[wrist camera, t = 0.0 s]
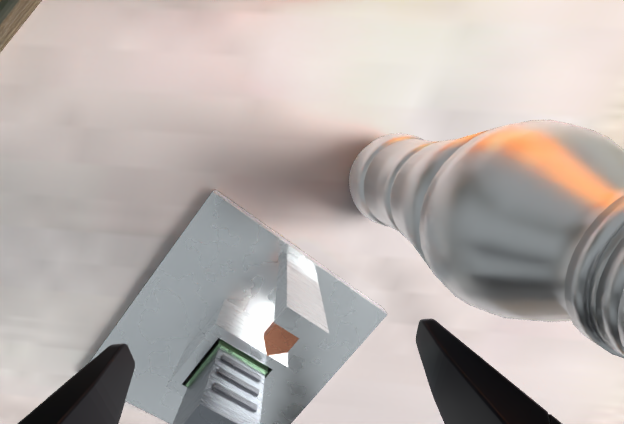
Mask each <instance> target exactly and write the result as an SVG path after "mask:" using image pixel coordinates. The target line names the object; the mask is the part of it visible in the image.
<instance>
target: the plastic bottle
mask: <svg viewBox="0 0 624 424" xmlns="http://www.w3.org/2000/svg"><path fill="white" fill-rule="evenodd" d="M349 187H350V193H351V196H352V199H353V201H354V204H355V205H356V207H357V208H358V210H359V211H360V212H361V213H362V214H363V215H364V216H365V217H367V218H368V219H370V220H371V221H374V222H376V223H379V224H382V225H384V226H389V227H391V228H393V229H395V230H397V231H399V232H400V233H401V234H402V235H403V236H405V237H406V238H407V239H408V240H409V241H410V242H411V243H412V244H413V246H414V247H415V248H416V250H417V251H418V253H419V254H420V255H421V257H422V258H423V259H424V261H425V262H426V263H427V265H428V266H429V268H430V269H431V270H432V272H433V273H434V275H435V276H436V277H437V278H438V279H439V280H440V281H441V282H442V283H443V284H444V285H445V286H446V287H447V288H448V289H449V290H450V291H451V292H452V293H453V294H454V295H455V296H456V297H457V298H459V299H460V300H462V301H464V302H465V303H467V304H469V305H471V306H473V307H476V308H479V309H481V310H484V311H486V312H489V313H492V314H495V315H498V316H501V317H504V318H510V319H519V320H532V321H545V322H556V321H572V322H573V324H574V326H575V327H576V328H577V329H578V330H579V331H580V332H581V333H582V334H583V335H584V336H586V337H587V338H589V339H590V340H592V341H593V342H595V343H596V344H598V345H599V346H601V347H602V348H604V349H605V350H607V351H608V352H610V353H611V354H613V355H616V356H619V357H622V358H624V150H623V149H622V148H621V147H620V146H618V145H617V144H616V143H615V142H614V141H612V140H611V139H610V138H608V137H606V136H604V135H602V134H600V133H598V132H596V131H594V130H591V129H587V128H583V127H580V126H576V125H572V124H568V123H563V122H558V121H553V120H532V121H526V122H521V123H515V124H509V125H505V126H501V127H497V128H493V129H491V130H487V131H484V132H480V133H477V134H473V135H470V136H466V137H463V138H460V139H454V140H446V141H438V142H433V141H426V140H423V139H421V138H419V137H416V136H412V135H408V134H402V133H396V134H389V135H385V136H382V137H380V138H378V139H376V140H374V141H373V142H371V143H370V144H369V145H367V146H366V147H365V148H364V149H363V150H362V151H361V152H360V153H359V154H358V156H357V157H356V159H355V160H354V162H353V165H352V167H351V171H350V175H349Z"/></svg>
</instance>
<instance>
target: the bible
mask: <svg viewBox="0 0 624 424" xmlns="http://www.w3.org/2000/svg"><path fill="white" fill-rule="evenodd" d="M41 1H42V0H0V52H1V51H2V50H3V49H4V47H5V46H6V45H7V44H8V42H9V41H10V40H11V39H12V37H13V36H14V35H15V34H16V32H17V31H18V30H19V29H20V27H21V26H22V25H23V23H24V22H25V21H26V20H27V18H28V17H29V16H30V15H31V13H32V12H33V11H34V10H35V8H36V7H37V6H38V5H39V3H40V2H41Z"/></svg>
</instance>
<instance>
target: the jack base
mask: <svg viewBox="0 0 624 424" xmlns="http://www.w3.org/2000/svg"><path fill="white" fill-rule="evenodd" d="M386 316H387V313H386V311H385V309H384V308H383V307H381V306H380V305H379V304H377V303H376V302H374V301H373V300H371V299H370V298H369V297H367V296H366V295H364V294H363V293H362V292H360V291H359V290H357V289H356V288H354V287H353V286H352V285H350V284H349V283H347V282H346V281H344V280H343V279H342V278H340V277H339V276H337V275H336V274H335V273H333V272H332V271H330V270H329V269H327V268H326V267H325V266H323V265H322V264H320V263H319V262H318V261H316V260H315V259H313V258H312V257H310V256H309V255H308V254H306V253H305V252H303V251H302V250H301V249H299V248H298V247H296V246H295V245H293V244H292V243H291V242H289V241H288V240H286V239H285V238H283V237H282V236H281V235H279V234H278V233H276V232H275V231H274V230H272V229H271V228H269V227H268V226H266V225H265V224H264V223H262V222H261V221H259V220H258V219H257V218H255V217H254V216H252V215H251V214H249V213H248V212H247V211H245V210H244V209H242V208H241V207H240V206H238V205H237V204H235V203H234V202H232V201H231V200H230V199H228V198H227V197H225V196H224V195H222V194H221V193H220V192H218V191H217V190H214V191H213V192H212V193H211V194H210V196H209V197H208V199H207V200H206V201H205V203H204V204H203V205H202V207H201V208H200V210H199V211H198V212H197V214H196V215H195V217H194V218H193V219H192V221H191V222H190V223H189V225H188V226H187V228H186V229H185V230H184V232H183V233H182V235H181V236H180V237H179V239H178V240H177V241H176V243H175V244H174V246H173V247H172V248H171V250H170V251H169V253H168V254H167V255H166V257H165V258H164V260H163V261H162V262H161V264H160V265H159V266H158V268H157V269H156V271H155V272H154V273H153V275H152V276H151V278H150V279H149V280H148V282H147V283H146V284H145V286H144V287H143V289H142V290H141V291H140V293H139V294H138V296H137V297H136V298H135V300H134V301H133V302H132V304H131V305H130V307H129V308H128V309H127V311H126V312H125V314H124V315H123V316H122V318H121V319H120V320H119V322H118V323H117V325H116V326H115V327H114V329H113V330H112V332H111V333H110V334H109V336H108V337H107V339H106V340H105V341H104V343H103V344H102V345H101V347H100V348H99V350H98V351H97V352H96V354H95V355H94V357H93V358H92V359H91V361H92V360H93V359H94V358H95V357H96V356H98V355H99V354H100V353H101V352H102V351H103V350H105V349H106V348H107V347H108V346H110V345H112V344H122V343H125V344H127V345H128V347H129V349H130V351H131V354H132V356H133V358H134V360H135V369H134V372H133V376H132V379H131V383H130V386H129V389H128V393H127V396H126V400H125V401H126V402H128V403H130V404H132V405H134V406H136V407H138V408H140V409H142V410H144V411H146V412H148V413H150V414H152V415H154V416H156V417H158V418H160V419H162V420H164V421H166V422H168V423H170V424H173V421H174V419H175V416H176V414H177V412H178V409H179V407H180V404H181V402H182V399H183V397H184V395H185V392H186V390H187V386H186V383H187V381H188V379H189V378H190V376H191V375H192V374H193V373H194V370H195V368H196V366H197V364H198V363H199V362H200V360H201V359H202V358H203V357H204V355H205V354H206V353H207V352H208V350H209V349H210V348H211V347H212V345H213V344H214V343H215V342H216V340H217V339H218V338H220V339H222V340H223V341H225V342H227V343H228V344H230V345H232V346H234V347H235V348H237V349H239V350H240V351H242V352H244V353H245V354H247V355H249V356H251V357H252V358H254V359H256V360H257V361H259V362H261V363H262V364H264V365H266V366H268V373H267V374H266V375H265V378H264V388H263V398H262V408H261V418H260V424H291V423H292V422H293V421H294V419H295V418H296V417H297V416H298V415H299V414H300V413H301V412H302V410H303V409H304V408H305V407H306V406H307V405H308V404H309V403H310V401H311V400H312V399H313V398H314V397H315V396H316V395H317V393H318V392H319V391H320V390H321V389H322V388H323V387H324V386H325V384H326V383H327V382H328V381H329V380H330V379H331V378H332V377H333V375H334V374H335V373H336V372H337V371H338V370H339V369H340V368H341V366H342V365H343V364H344V363H345V362H346V361H347V360H348V358H349V357H350V356H351V355H352V354H353V353H354V352H355V351H356V349H357V348H358V347H359V346H360V345H361V344H362V343H363V342H364V340H365V339H366V338H367V337H368V336H369V335H370V334H371V333H372V331H373V330H374V329H375V328H376V327H377V326H378V325H379V323H380V322H381V321H382V320H383V319H384V318H385V317H386ZM91 361H90V362H91Z"/></svg>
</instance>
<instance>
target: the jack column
mask: <svg viewBox="0 0 624 424" xmlns="http://www.w3.org/2000/svg"><path fill="white" fill-rule="evenodd" d="M267 373H268V366H266V365H264V364H262V363H261V362H259V361H257V360H256V359H254V358H252V357H251V356H249V355H247V354H245V353H244V352H242V351H240V350H239V349H237V348H235V347H234V346H232V345H230V344H228V343H227V342H225V341H223V340H222V339H220V338H218V339H217V340H216V342H215V343H214V344H213V345H212V347H211V348H210V349H209V350H208V352H207V353H206V354H205V355H204V357H203V358H202V359H201V360H200V362H199V363H198V364H197V366H196V368H195V370H194V373H193V374H192V375H191V376H190V378H189V379H188V381H187V383H186V386H187V390H186V392H185V395H184V397H183V399H182V402H181V404H180V407H179V409H178V412H177V414H176V416H175V419H174V421H173V424H260V418H261V408H262V398H263V388H264V378H265V375H266V374H267Z"/></svg>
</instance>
